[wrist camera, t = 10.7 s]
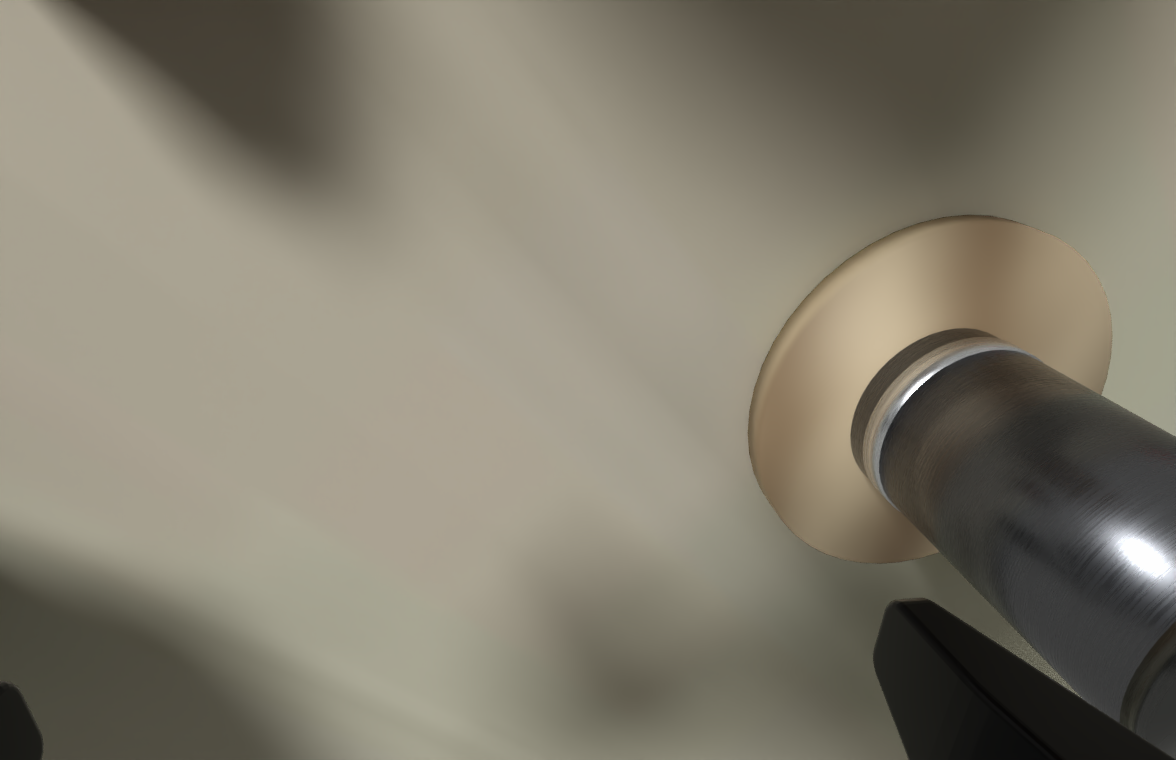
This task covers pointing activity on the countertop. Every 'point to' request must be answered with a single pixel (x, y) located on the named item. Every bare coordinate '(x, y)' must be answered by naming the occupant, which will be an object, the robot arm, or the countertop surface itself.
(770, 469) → the smooth tan round disc
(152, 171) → the countertop surface
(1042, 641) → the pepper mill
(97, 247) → the countertop surface
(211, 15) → the countertop surface
